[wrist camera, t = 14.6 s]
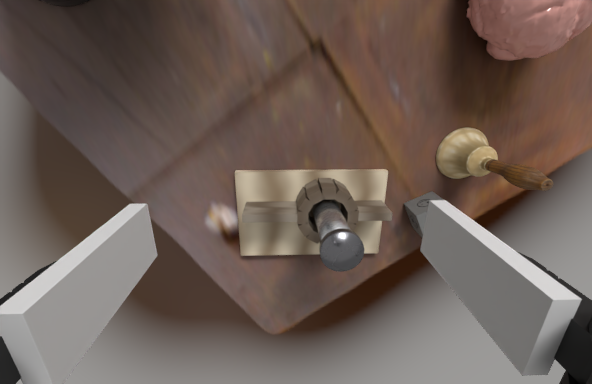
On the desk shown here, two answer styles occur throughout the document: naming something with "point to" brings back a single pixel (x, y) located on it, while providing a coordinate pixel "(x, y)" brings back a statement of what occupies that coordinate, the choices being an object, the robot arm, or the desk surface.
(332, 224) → the pin
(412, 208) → the dice cube
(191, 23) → the desk surface
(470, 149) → the hand bell
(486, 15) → the brain
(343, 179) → the hinge board
